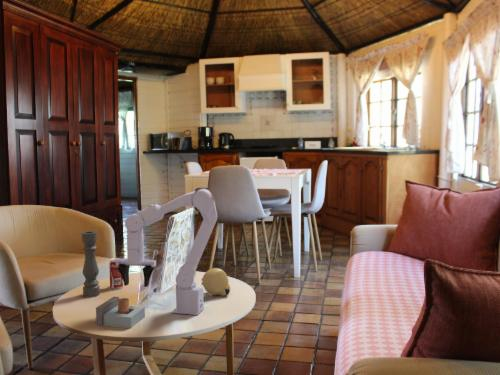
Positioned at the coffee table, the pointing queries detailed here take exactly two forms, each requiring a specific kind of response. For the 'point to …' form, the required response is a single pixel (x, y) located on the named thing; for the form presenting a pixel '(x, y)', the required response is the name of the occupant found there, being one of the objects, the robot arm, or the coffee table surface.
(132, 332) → the coffee table surface
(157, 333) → the coffee table surface
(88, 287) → the candle holder
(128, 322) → the socket block
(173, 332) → the coffee table surface
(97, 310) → the charcoal wall
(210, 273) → the toy pig
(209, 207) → the robot arm
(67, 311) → the coffee table surface
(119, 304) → the dowel
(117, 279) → the soda can
